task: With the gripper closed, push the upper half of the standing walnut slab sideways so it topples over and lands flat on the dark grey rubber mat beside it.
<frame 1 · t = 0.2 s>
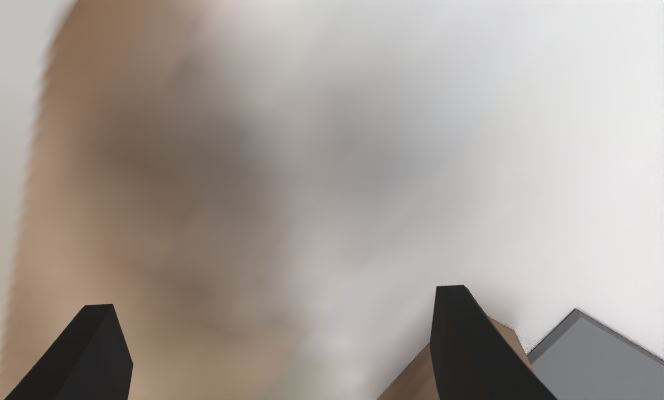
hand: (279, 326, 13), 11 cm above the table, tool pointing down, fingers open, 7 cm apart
slab: (443, 366, 28), on the table
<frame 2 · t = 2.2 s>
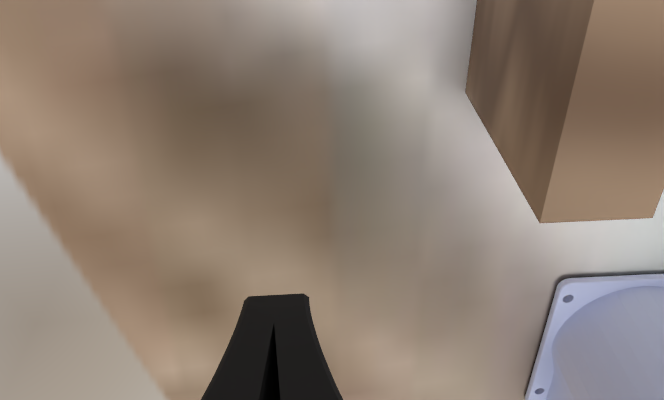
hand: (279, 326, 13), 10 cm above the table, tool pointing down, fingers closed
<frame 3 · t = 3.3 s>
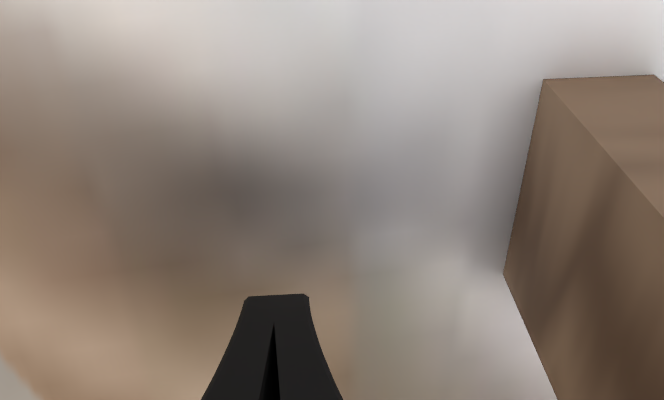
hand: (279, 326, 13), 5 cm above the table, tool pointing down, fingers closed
slab: (569, 185, 17), on the table
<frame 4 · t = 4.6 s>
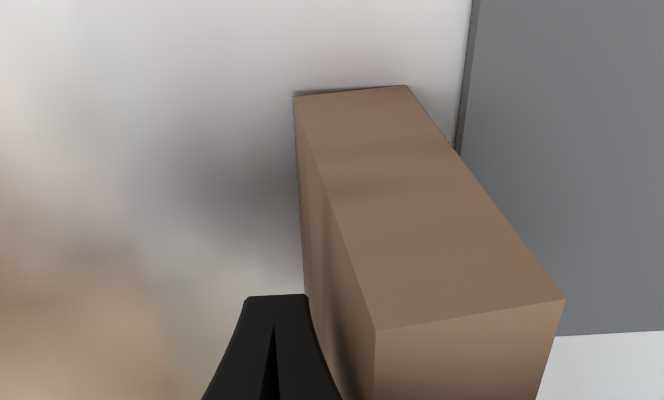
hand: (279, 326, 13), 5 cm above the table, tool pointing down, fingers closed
slab: (350, 200, 17), on the table, tilted 9°
mat: (597, 185, 17), on the table
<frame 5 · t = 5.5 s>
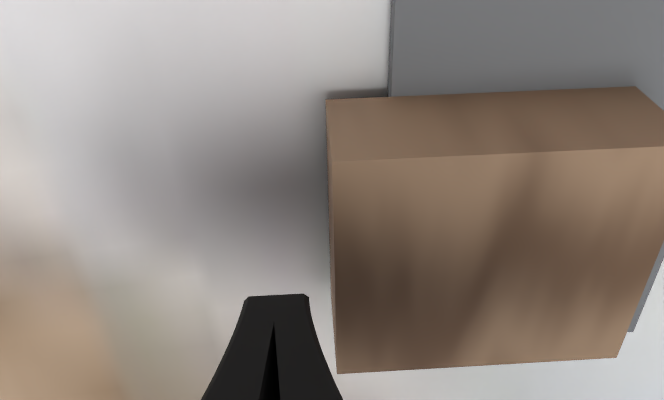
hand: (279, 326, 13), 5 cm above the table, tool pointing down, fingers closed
slab: (331, 243, 15), point 2 cm above the table, tilted 90°, touching mat
mat: (533, 188, 17), on the table
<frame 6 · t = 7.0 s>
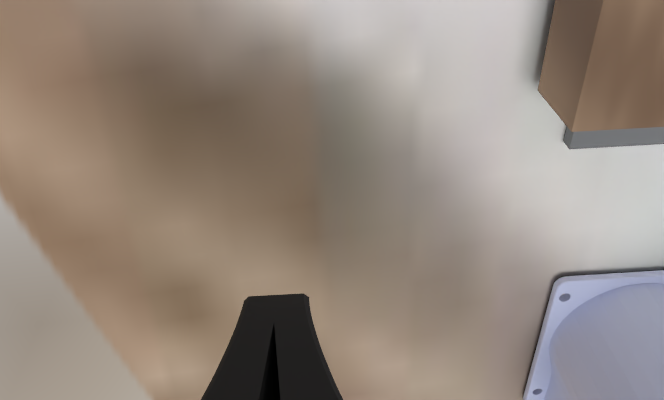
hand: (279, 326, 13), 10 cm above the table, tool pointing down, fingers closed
slab: (576, 2, 17), point 2 cm above the table, tilted 90°, touching mat
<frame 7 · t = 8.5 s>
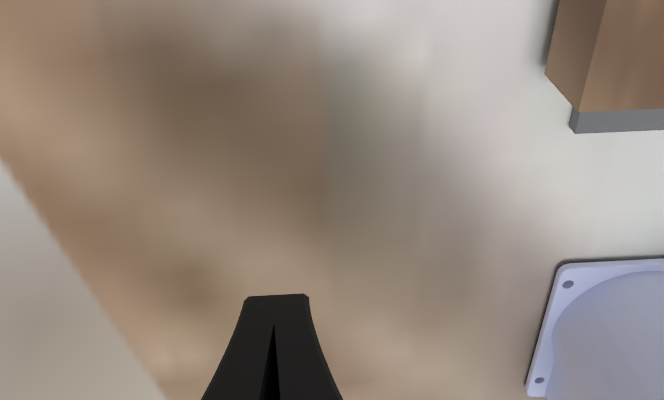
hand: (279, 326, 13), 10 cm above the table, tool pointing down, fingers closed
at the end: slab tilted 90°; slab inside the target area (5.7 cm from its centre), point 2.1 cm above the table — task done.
